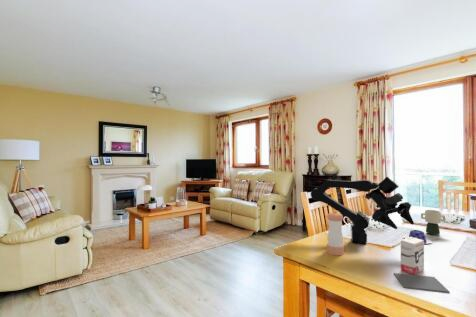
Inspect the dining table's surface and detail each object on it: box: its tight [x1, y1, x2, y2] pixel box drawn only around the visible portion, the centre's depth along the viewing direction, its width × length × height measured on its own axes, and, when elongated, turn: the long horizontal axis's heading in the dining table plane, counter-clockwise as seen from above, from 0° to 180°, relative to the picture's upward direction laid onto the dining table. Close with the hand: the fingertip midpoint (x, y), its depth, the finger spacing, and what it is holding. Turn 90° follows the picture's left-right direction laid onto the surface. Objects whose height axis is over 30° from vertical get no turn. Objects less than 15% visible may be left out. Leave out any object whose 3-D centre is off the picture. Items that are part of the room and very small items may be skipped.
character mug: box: [420, 209, 446, 235], centre depth 145 cm, size 11×7×13 cm, turn 49°
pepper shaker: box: [326, 210, 345, 256], centre depth 118 cm, size 7×7×19 cm
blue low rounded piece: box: [408, 229, 433, 245], centre depth 134 cm, size 12×12×5 cm
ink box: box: [400, 237, 425, 275], centre depth 99 cm, size 8×5×12 cm, turn 123°
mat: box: [393, 272, 450, 294], centre depth 89 cm, size 13×10×1 cm
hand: (405, 226), depth 114 cm, fingers open, 9 cm apart
